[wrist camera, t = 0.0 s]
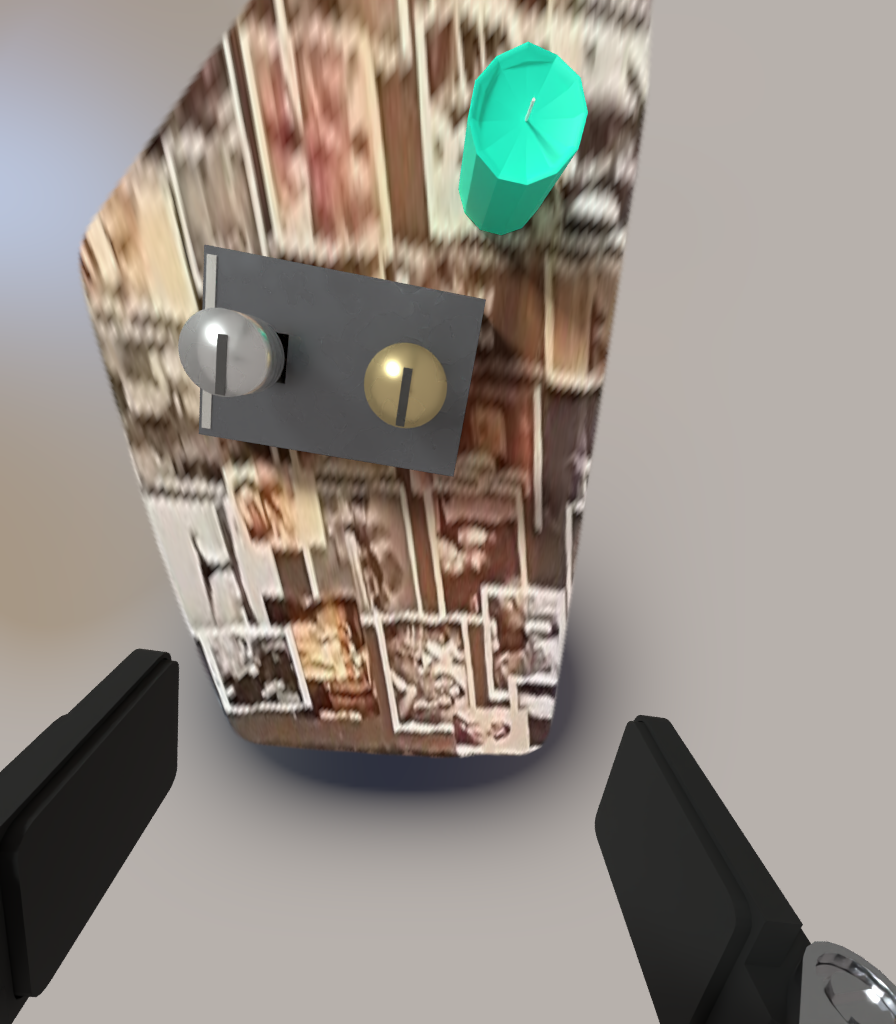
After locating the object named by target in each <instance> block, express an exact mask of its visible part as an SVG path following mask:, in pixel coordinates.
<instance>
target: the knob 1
mask: <svg viewBox="0 0 896 1024" xmlns="http://www.w3.org/2000/svg"><path fill="white" fill-rule="evenodd" d="M178 347H179V356H180V360H181V363H182V365H183V368H184V370H185V371H186V373H187V375H188V376H189V377H190V379H191V380H192V381H193V382H194V383H195V384H196V385H197V386H198V387H200V388H201V389H203V390H204V391H206V392H208V393H210V394H213V395H216V396H220V397H234V396H241V395H247V394H253V393H259V392H262V391H264V390H267V389H268V388H270V387H271V386H272V385H274V384H275V383H276V381H277V380H278V379H279V377H280V375H281V373H282V370H283V367H284V350H283V346H282V343H281V341H280V339H279V337H278V335H277V334H276V332H275V331H274V330H273V328H272V327H271V326H270V325H268V324H267V323H266V322H265V321H263V320H261V319H260V318H257V317H255V316H252V315H248V314H244V313H240V312H237V311H233V310H229V309H225V308H207V309H204V310H201V311H199V312H197V313H196V314H194V315H193V316H191V317H190V318H189V319H188V321H187V322H186V323H185V325H184V326H183V328H182V331H181V333H180V337H179V345H178Z"/></svg>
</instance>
